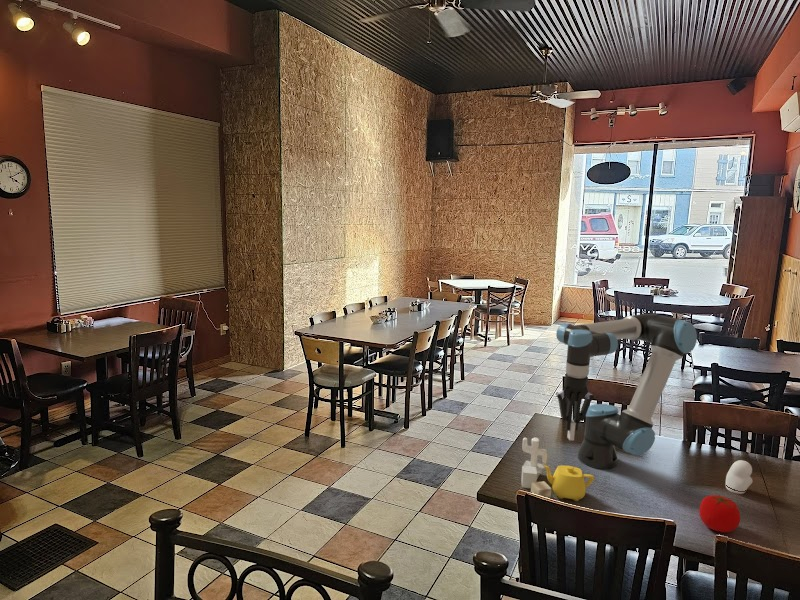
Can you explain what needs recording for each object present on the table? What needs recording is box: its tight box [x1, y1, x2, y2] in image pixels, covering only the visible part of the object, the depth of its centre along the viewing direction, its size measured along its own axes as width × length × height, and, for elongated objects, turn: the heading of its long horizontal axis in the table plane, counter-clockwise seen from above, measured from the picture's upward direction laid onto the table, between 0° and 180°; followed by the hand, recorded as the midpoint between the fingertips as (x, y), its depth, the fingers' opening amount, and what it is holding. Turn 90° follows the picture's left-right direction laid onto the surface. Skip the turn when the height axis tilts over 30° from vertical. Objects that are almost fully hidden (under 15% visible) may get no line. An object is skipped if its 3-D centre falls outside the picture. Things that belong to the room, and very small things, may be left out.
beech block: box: [530, 480, 552, 498], centre depth 186 cm, size 5×5×5 cm
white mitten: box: [725, 459, 753, 495], centre depth 194 cm, size 7×8×12 cm
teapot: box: [543, 464, 595, 502], centre depth 189 cm, size 18×11×11 cm, turn 75°
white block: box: [520, 465, 538, 489], centre depth 195 cm, size 5×5×6 cm
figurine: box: [521, 436, 548, 480], centre depth 201 cm, size 7×9×15 cm
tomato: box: [699, 494, 741, 534], centre depth 171 cm, size 11×12×10 cm
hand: (570, 438), depth 186 cm, fingers closed
